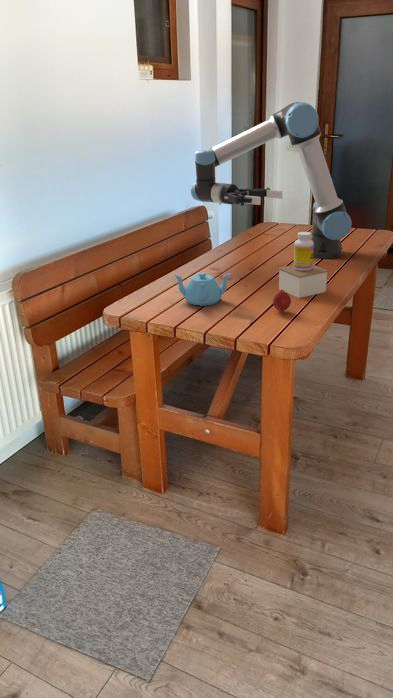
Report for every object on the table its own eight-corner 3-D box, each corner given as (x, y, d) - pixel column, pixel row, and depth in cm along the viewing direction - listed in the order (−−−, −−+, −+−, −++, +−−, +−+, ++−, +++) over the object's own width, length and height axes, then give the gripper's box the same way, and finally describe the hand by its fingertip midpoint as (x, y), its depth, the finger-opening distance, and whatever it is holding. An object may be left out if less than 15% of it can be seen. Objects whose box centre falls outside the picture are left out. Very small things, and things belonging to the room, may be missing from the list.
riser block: (305, 283, 216) (306, 262, 213) (326, 291, 206) (327, 270, 202) (278, 288, 211) (278, 267, 208) (298, 298, 201) (299, 276, 197)
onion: (271, 309, 192) (271, 286, 188) (288, 308, 192) (288, 285, 189) (274, 315, 186) (275, 292, 183) (292, 314, 187) (293, 291, 183)
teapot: (204, 291, 211) (203, 264, 207) (233, 300, 201) (233, 272, 197) (174, 302, 202) (172, 273, 198) (203, 311, 192) (202, 282, 188)
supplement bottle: (312, 271, 201) (314, 235, 196) (293, 271, 203) (294, 235, 197) (312, 266, 207) (314, 231, 202) (294, 266, 209) (295, 231, 203)
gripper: (245, 198, 231) (290, 202, 217) (204, 209, 214) (250, 214, 201) (245, 179, 228) (290, 182, 214) (203, 188, 211) (250, 192, 198)
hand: (271, 197), depth 208 cm, fingers open, 13 cm apart
